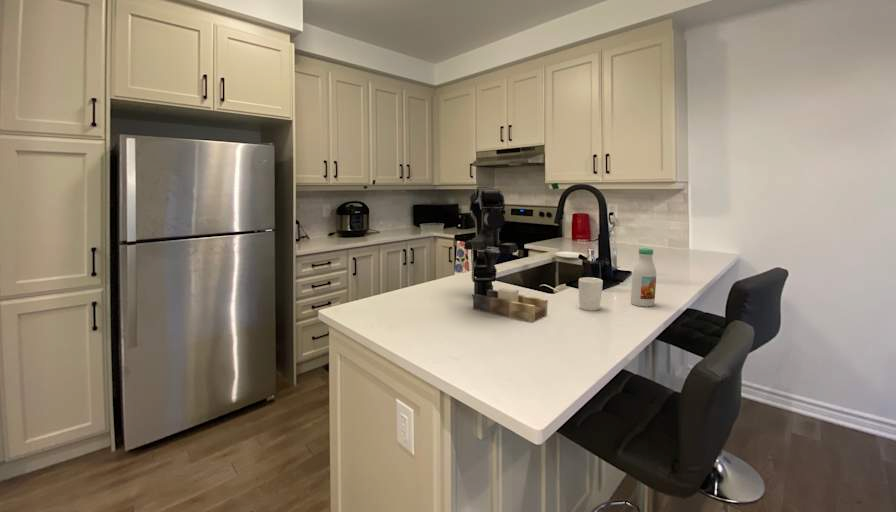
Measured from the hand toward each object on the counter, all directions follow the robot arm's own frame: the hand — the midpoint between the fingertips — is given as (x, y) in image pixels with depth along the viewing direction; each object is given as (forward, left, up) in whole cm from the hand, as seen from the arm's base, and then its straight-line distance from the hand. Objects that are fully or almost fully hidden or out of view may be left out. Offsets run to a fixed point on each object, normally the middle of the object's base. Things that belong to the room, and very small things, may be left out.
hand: (489, 271), depth 145 cm
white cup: (+27, +21, -13) cm, 37 cm away
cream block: (+7, 0, -10) cm, 13 cm away
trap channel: (+8, 0, -13) cm, 15 cm away
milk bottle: (+40, +37, -13) cm, 56 cm away
